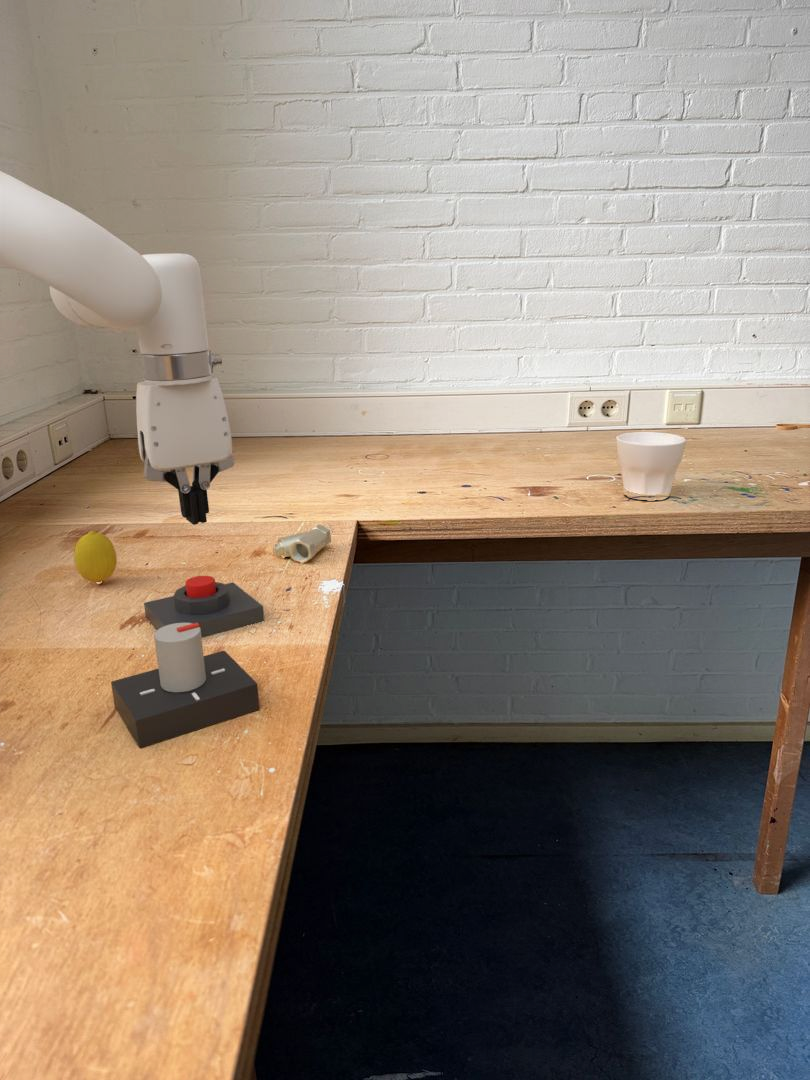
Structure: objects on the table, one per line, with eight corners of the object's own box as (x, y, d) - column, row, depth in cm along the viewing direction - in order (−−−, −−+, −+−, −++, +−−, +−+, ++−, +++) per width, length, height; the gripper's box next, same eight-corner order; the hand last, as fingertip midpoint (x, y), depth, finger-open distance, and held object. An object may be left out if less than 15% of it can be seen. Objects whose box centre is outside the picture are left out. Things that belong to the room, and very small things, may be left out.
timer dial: (168, 697, 77) (161, 642, 75) (154, 679, 80) (147, 626, 78) (212, 684, 79) (206, 630, 77) (197, 667, 82) (191, 615, 81)
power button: (192, 601, 98) (190, 588, 97) (182, 592, 100) (181, 579, 100) (220, 594, 99) (219, 581, 99) (210, 586, 102) (209, 573, 102)
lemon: (123, 586, 113) (116, 532, 110) (82, 594, 110) (73, 539, 108) (115, 574, 117) (108, 522, 115) (75, 582, 115) (67, 529, 112)
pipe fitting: (271, 564, 121) (312, 564, 119) (267, 539, 120) (308, 539, 118) (293, 547, 128) (332, 547, 126) (290, 524, 127) (329, 524, 125)
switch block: (170, 647, 94) (166, 615, 93) (145, 618, 102) (141, 589, 101) (264, 622, 100) (261, 592, 99) (234, 597, 108) (231, 569, 107)
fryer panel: (139, 748, 74) (135, 718, 73) (114, 707, 81) (110, 679, 80) (260, 709, 80) (257, 681, 79) (227, 674, 87) (224, 648, 86)
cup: (690, 503, 146) (696, 444, 142) (622, 505, 146) (626, 445, 142) (668, 486, 157) (673, 431, 154) (605, 487, 157) (608, 432, 154)
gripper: (227, 359, 98) (242, 503, 104) (101, 371, 90) (125, 525, 96) (251, 364, 92) (265, 516, 98) (119, 378, 84) (143, 541, 90)
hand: (196, 520), depth 97 cm, fingers closed
